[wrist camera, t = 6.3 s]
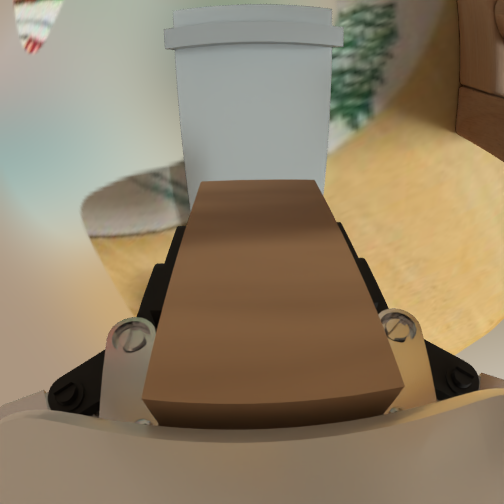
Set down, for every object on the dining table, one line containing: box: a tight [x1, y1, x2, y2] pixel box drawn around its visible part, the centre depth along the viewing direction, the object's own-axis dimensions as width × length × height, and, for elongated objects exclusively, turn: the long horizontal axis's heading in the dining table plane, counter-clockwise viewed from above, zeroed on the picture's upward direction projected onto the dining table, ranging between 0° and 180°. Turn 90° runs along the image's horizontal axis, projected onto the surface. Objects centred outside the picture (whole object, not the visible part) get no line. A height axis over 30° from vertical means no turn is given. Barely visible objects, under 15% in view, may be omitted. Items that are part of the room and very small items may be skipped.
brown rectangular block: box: [141, 179, 405, 430], centre depth 9 cm, size 5×4×8 cm
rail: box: [164, 4, 343, 211], centre depth 20 cm, size 30×8×3 cm, turn 1°
